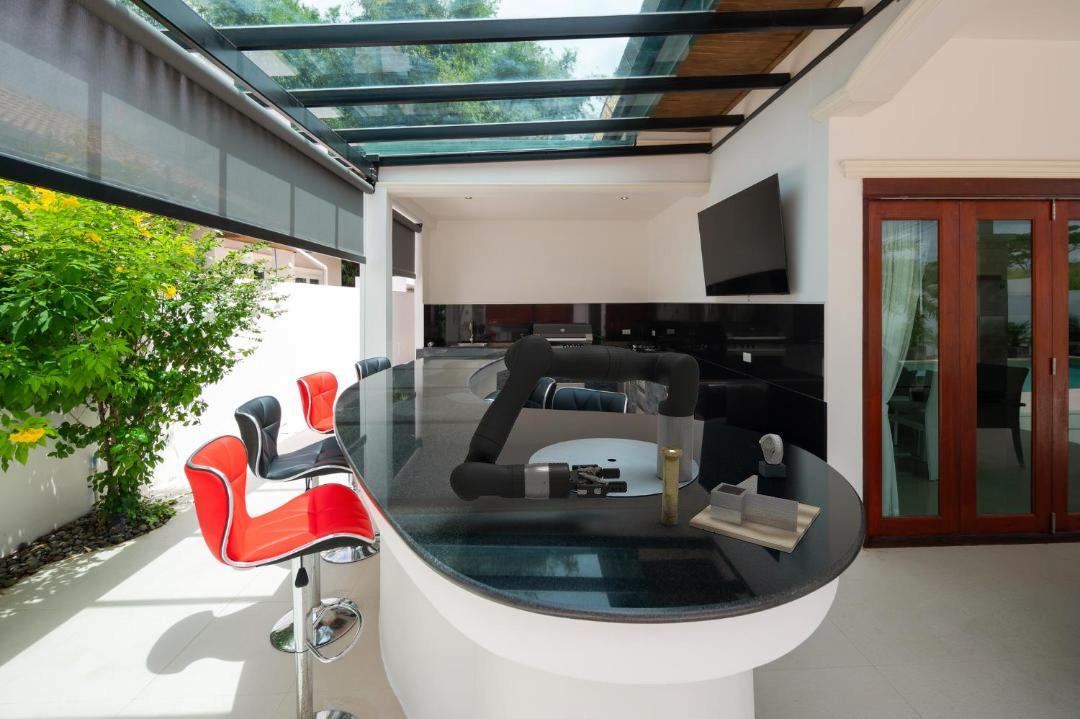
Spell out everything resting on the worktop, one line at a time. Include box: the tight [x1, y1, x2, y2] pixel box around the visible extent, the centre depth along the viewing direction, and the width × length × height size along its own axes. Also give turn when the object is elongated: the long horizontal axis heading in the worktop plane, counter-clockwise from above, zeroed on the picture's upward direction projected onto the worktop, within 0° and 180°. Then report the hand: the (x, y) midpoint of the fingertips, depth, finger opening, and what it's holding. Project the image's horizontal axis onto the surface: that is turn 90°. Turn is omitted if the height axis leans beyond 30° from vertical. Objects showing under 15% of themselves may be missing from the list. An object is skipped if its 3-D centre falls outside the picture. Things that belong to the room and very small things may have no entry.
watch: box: [758, 433, 787, 478], centre depth 146 cm, size 6×8×11 cm
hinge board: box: [688, 502, 821, 554], centre depth 117 cm, size 25×20×1 cm
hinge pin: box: [661, 447, 682, 526], centre depth 114 cm, size 4×4×16 cm
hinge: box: [709, 474, 799, 532], centre depth 116 cm, size 16×16×6 cm
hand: (623, 479), depth 114 cm, fingers open, 8 cm apart
